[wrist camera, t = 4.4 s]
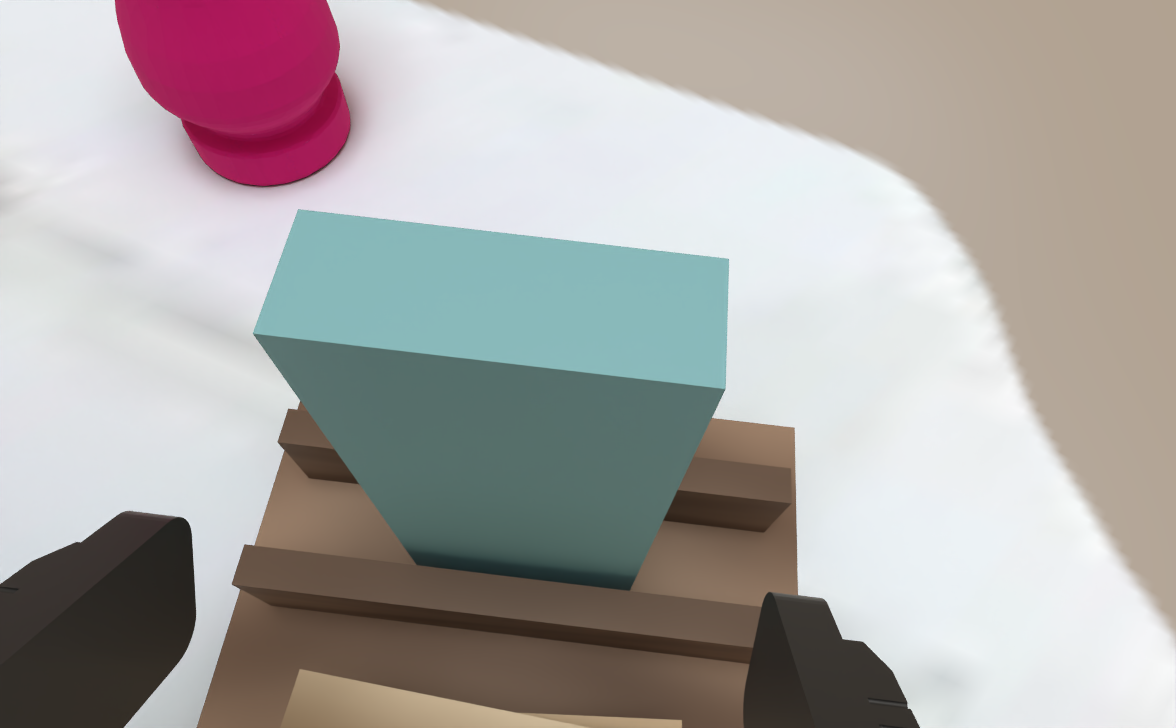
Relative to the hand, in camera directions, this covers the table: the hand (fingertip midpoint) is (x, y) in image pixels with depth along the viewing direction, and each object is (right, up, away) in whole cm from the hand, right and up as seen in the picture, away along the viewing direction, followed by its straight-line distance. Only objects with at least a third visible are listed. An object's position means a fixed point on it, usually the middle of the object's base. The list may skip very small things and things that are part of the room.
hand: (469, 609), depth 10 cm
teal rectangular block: (0, -2, +12) cm, 12 cm away
